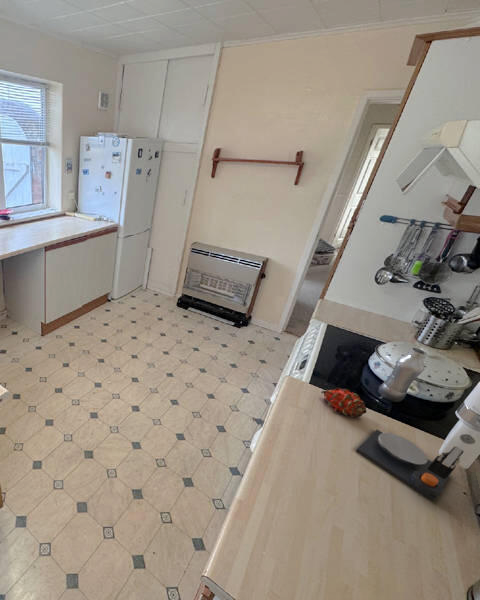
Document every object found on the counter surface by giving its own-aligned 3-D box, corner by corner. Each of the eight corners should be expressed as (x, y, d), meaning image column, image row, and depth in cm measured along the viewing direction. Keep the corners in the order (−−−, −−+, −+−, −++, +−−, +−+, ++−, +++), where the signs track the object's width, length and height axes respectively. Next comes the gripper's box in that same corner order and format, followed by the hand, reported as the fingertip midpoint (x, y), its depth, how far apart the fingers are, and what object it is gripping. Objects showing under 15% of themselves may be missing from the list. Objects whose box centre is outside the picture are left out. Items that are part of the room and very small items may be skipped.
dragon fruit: (360, 428, 100) (316, 409, 109) (371, 406, 102) (327, 389, 111) (362, 417, 95) (315, 397, 104) (373, 394, 97) (326, 377, 106)
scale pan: (430, 456, 86) (432, 454, 86) (419, 472, 81) (420, 470, 81) (385, 429, 94) (386, 427, 93) (371, 443, 89) (373, 441, 88)
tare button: (436, 484, 79) (440, 479, 78) (432, 489, 78) (437, 484, 77) (422, 475, 81) (426, 470, 80) (418, 480, 80) (422, 475, 79)
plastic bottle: (376, 388, 116) (405, 342, 107) (401, 398, 112) (433, 352, 103) (374, 396, 112) (404, 349, 103) (400, 407, 108) (433, 359, 99)
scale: (448, 478, 85) (455, 469, 83) (431, 505, 78) (440, 496, 76) (373, 433, 97) (379, 425, 95) (354, 453, 90) (359, 444, 88)
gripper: (502, 445, 63) (449, 501, 72) (516, 417, 71) (466, 471, 79) (450, 419, 69) (406, 474, 77) (467, 395, 76) (425, 448, 85)
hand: (436, 472), depth 78 cm, fingers closed
